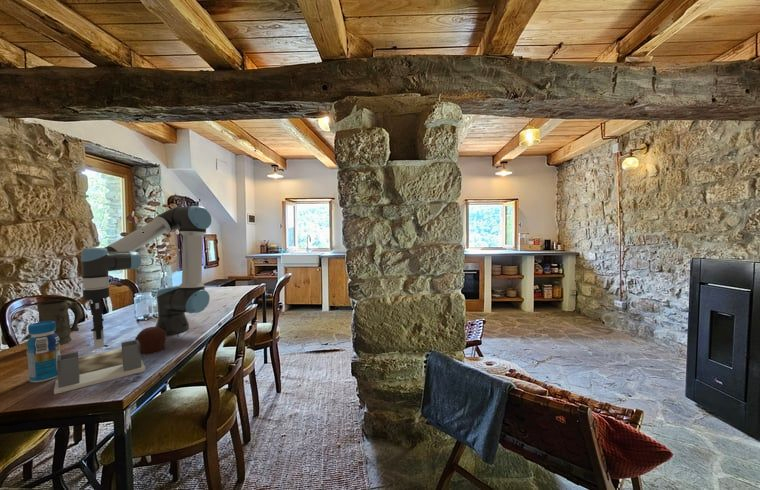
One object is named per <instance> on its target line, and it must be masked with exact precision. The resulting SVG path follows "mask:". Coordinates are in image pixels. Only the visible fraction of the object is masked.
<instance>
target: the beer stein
mask: <svg viewBox="0 0 760 490" xmlns="http://www.w3.org/2000/svg"><path fill="white" fill-rule="evenodd" d="M36 309H37V311H38V322H44V321H55V323H56V330H55V331H53V332H54V333H56V334H57V335H58V337H59V339H60V340H59V344H60V346H61V345H64V344H67V343H70V342H71V341H72V338H71V333H73V332H79V330H80V328H79V327H78V324H79V321H80V320H81V314H82V313H81V310H80V307H79V304H78V301H73V302H71V303H69V304H68V301H67V300H51V301H45V302H40V303H38V304H37V308H36ZM69 309H73V310H74V311H73V312H74V319H73V323H72V326H71V325H70V324H71V323H70V314H69Z"/></svg>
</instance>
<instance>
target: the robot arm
mask: <svg viewBox="0 0 760 490" xmlns="http://www.w3.org/2000/svg"><path fill="white" fill-rule="evenodd" d="M211 224H212V215H211V213H210V211H208V209H207V208H206V207H204V206H199V205H190V206H189V205H188V206H175V207H173V208H170V209H168V210H166V211H164V212H161V213H159V215H156V216H154V217H153V219H152V221H150V222H149V223H147V224H145V225H143V226H141V227H139V228H137V229H136V230H134V231H132V232H130V233H128V234H127V235H125V236H122V237H121V238H120V239H118V240H115V241H114V242H113V243H111V244H109V245H107V246H105V247H89V248H88V247H87V248H83V249H82V250H81V254H80V264H81V277H82V278H81V279H82V280H80V282H79V283H80V284H82V288H83V290H82V299H83V300H85V301H91V303H89V309H90V313H91V316H92V322H93V323H92V328H91V329H90V330H91V331H90V332H92V333H93V334H92V335H93V349H100V348H104V347H105V341H104V338H105V337H104V325H103V323H104V317H103V314H104V308H105V304H104V301H102V299H106V298H110V288H109V286H110V279H109V278H110V277H109V272H113V271H122V270H123V271H124V270H134V269H137V268H139V267H140V265H141V264H142V257H141V254H140V253H139V252H137V250H139V249H140V248H142V247H144V246H145V245H147V244H149V243H150V242H153V240H155V239H157V238H158V237H161V236H162V235H164V234H169V233H171V232H172V231H177V230H179V233H180V234H181V235H182V266H181V268H182V269H181V270H182V271H181V274H182V275H181V284H179V285H174V286H168V287H163V288H158V290H157V291H156V305H157V321H156V324H155V326H154V327H159V328H161V329H163V330H164V331H165V332H166V333H167V334H166V336H169V335H175V334H179V333H183V332H185V331H187V330H189V329H190V323H189V320H188V318H187V316H186V313H187V314H198V313H201V312H203V311H204V310H206V308H207V307H208V305H209V303H210V299H211V298H210V297H211V296H210V294H209V292H208V291H207V290H206V289H205V288H206V287H205V284H204V283H202V274H203V273H202V272H203V237H204V235H206V233H207V229H208V228H210V226H211ZM142 229H143V230H142ZM141 231H142V232H144V233H142V232H141Z"/></svg>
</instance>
